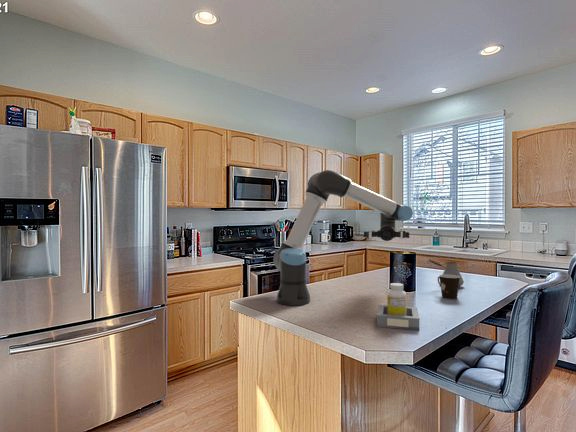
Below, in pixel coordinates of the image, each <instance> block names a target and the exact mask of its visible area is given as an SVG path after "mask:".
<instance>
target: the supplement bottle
mask: <svg viewBox="0 0 576 432" xmlns="http://www.w3.org/2000/svg"><path fill="white" fill-rule="evenodd" d="M389 287H390V290H388V291H387V294H386V295H387V297H386V298H387V299H386V300H387V305H388V314H389V315H401V316H407V307H408V306H407V293H406V291H405V290H404V284H403V283H401V282H392V283H390V284H389Z"/></svg>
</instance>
